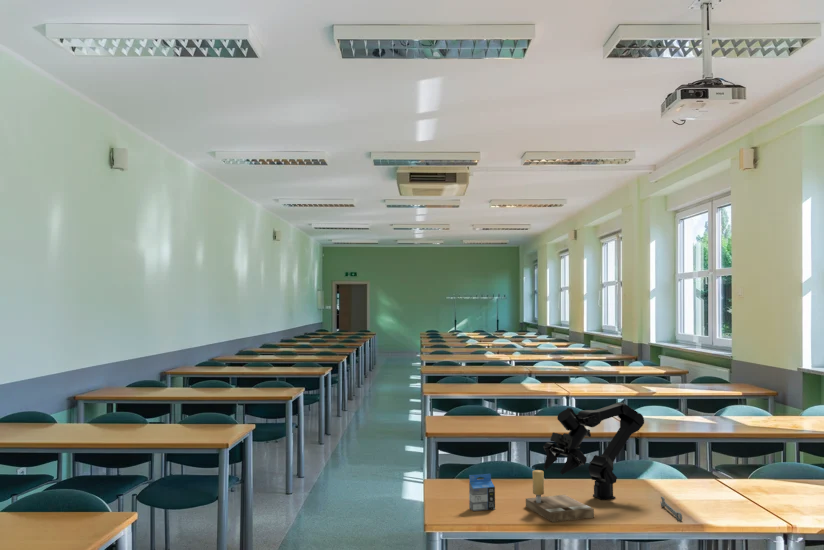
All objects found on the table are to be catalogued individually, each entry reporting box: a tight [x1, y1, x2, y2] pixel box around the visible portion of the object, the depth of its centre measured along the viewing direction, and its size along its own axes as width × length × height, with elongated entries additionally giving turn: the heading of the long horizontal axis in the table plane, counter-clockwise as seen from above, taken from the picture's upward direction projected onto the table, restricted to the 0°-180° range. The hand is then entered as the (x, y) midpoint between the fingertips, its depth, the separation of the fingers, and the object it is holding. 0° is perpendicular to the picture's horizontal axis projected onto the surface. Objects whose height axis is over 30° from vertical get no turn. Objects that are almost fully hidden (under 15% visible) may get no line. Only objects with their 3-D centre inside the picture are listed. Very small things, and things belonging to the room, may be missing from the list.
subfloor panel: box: [525, 494, 595, 523], centre depth 246 cm, size 16×20×3 cm
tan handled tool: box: [532, 469, 545, 503], centre depth 249 cm, size 4×4×14 cm
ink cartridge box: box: [468, 473, 496, 512], centre depth 251 cm, size 9×4×12 cm, turn 105°
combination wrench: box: [659, 495, 683, 522], centre depth 244 cm, size 4×1×20 cm
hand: (552, 471), depth 252 cm, fingers open, 9 cm apart
